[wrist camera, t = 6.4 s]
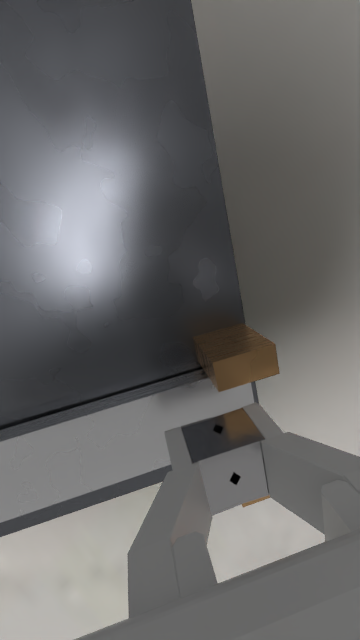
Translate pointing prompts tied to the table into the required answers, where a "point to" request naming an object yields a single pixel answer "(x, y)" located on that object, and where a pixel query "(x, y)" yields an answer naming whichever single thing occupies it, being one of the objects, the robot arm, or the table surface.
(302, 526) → the table surface
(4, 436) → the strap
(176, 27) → the dark piece
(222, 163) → the table surface
